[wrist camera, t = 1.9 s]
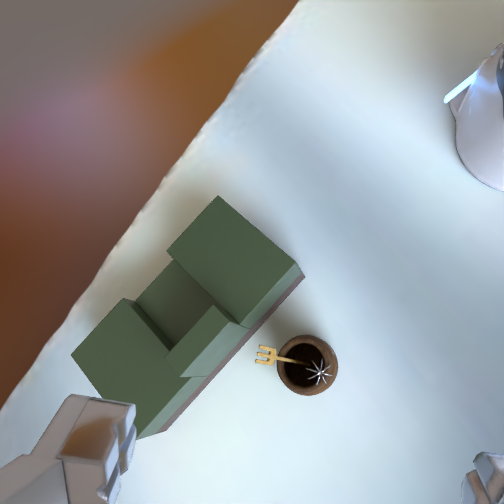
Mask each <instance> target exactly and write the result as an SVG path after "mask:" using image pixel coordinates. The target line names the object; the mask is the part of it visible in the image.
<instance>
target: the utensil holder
mask: <svg viewBox="0 0 504 504" xmlns="http://www.w3.org/2000/svg"><path fill="white" fill-rule="evenodd" d="M259 348H260V349H264V350H268V351H269V354H265V353H261V352H258V353H257V356H262V357H267V361H264V360H258V359H256V360H255V363H259V364H265V365H271V366H272V365H273V363H274V362H275V360H277V371H278V374H279V377H280V379H281V380H282V382H283V383H284V384H285V385H286V386H287V387H288V388H289V389H290V390H291V391H293V392H295V393H297V394H300V395H305V396H311V395H316V394H319V393H321V392H323V391H325V390H326V389H328V388H329V387H330V386H331V385H332V383H333V382H334V380H335V378H336V375H337V371H338V362H337V358H336V355H335V353H334V351H333V349H332V348H331V347H330V346H329V345H328V344H327V343H326V342H325V341H323V340H322V339H320V338H318V337H315V336H311V335H301V336H297V337H294V338H292V339H291V340H289V341H288V342H287V343H286V344H285V345H284V346H283V347H282V348H281V350H280V352H279V354H278V356H277V355H276V349H275V348H271V347H267V346H263V345H259Z"/></svg>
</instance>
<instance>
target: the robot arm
mask: <svg viewBox="0 0 504 504" xmlns="http://www.w3.org/2000/svg"><path fill="white" fill-rule="evenodd" d="M448 101H449V104H450V108H451V111H452V113H453V115H454V117H455V119H456V146H457V150H458V153H459V156H460V158H461V160H462V162H463V163H464V165H465V166H466V168H467V169H468V170H469V171H470V172H471V173H472V174H473V175H474V176H475V177H476V178H477V179H479V180H480V181H482V182H483V183H485V184H486V185H488V186H490V187H492V188H494V189H497V190H499V191H502V192H504V44H503V43H501V44H499V45H498V46H497V47H496V48H495V49H494V51H493V52H492V56H491V57H490V58H485V59H484V60H483V61H482V63H481V64H480V66H479V68H478V70H477V71H476V72H475V73H473V74H472V75H471V76H470V77H468V78H467V79H466V80H465V81H463V82H462V83H461V84H460V85H459V86H457V87H456V88H455V89H454V90H452V91H451V92H450V93H449V94H447V95H446V96H445V99H444V102H445V103H447V102H448ZM135 416H136V408H135V404H132V403H126V402H120V401H114V400H108V399H102V398H96V397H89V396H83V395H76V394H71V395H70V396H68V397H67V398H66V399H65V400H64V402H63V403H62V405H61V407H60V408H59V410H58V411H57V413H56V414H55V416H54V417H53V419H52V421H51V422H50V424H49V425H48V427H47V428H46V430H45V432H44V433H43V435H42V436H41V438H40V439H39V441H38V442H37V444H36V446H35V447H34V449H33V450H32V452H31V453H30V455H25V454H22V455H21V456H19V457H18V458H16V459H15V460H13V461H12V462H10V463H8V464H7V465H5V466H4V467H2V468H1V469H0V504H115V502H116V499H117V496H118V494H119V491H120V476H121V475H122V474H123V473H124V472H126V471H127V470H128V467H129V464H130V462H131V459H132V455H133V451H134V447H135V442H136V427H135V426H134V425H133V421H134V418H135ZM473 463H474V465H475V467H476V469H474V470H473V471H471V472H469V473H467V474H466V475H465V477H464V479H463V482H462V485H461V498H462V503H463V504H504V454H497V453H489V452H481V453H479V454H477V455H476V457H475V459H474V461H473Z"/></svg>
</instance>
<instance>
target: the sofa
mask: <svg viewBox="0 0 504 504" xmlns="http://www.w3.org/2000/svg"><path fill="white" fill-rule="evenodd" d="M167 252H168V253H169V254H170V255H171V256H172V257H173V258H174V260H173V261H172V262H171V263H170V264H169V265H168V266H167V267H166V268H165V269H164V270H163V271H162V273H161V274H160V275H159V276H158V277H157V278H156V279H155V280H154V281H153V282H152V283H151V284H150V286H149V287H148V288H147V289H146V290H145V291H144V292H143V293H142V294H141V295H140V296H139V297H138V299H137V300H136V301H132V300H128V299H125V298H123V299H122V300H121V301H120V302H119V303H118V304H117V305H116V306H115V307H114V308H113V309H112V310H111V312H110V313H109V314H108V315H107V316H106V317H105V318H104V319H103V320H102V321H101V322H100V323H99V325H98V326H97V327H96V328H95V329H94V330H93V331H92V332H91V333H90V334H89V335H88V336H87V338H86V339H85V340H84V341H83V342H82V343H81V344H80V345H79V346H78V347H77V348H76V349H75V351H74V352H73V353H72V354H71V356H72V357H73V359H74V360H75V362H76V363H77V364H78V366H79V367H80V368H81V370H82V371H83V372H84V374H85V375H86V376H87V378H88V379H89V381H90V382H91V383H92V385H93V386H94V387H95V389H96V390H97V391H98V393H99V394H100V395H101V397H102V398H103V399H108V400H114V401H120V402H126V403H132V404H135V408H136V416H135V418H134V421H133V425H134V426H135V427H136V440H138V439H141V438H144V437H147V436H151V435H154V434H157V433H160V432H164V431H166V430H167V429H168V428H169V427H170V426H171V425H172V423H173V422H174V421H175V420H176V419H177V418H178V417H179V416H180V415H181V414H182V412H183V411H184V410H185V409H186V408H187V407H188V406H189V405H190V404H191V402H192V401H193V400H194V399H195V398H196V397H197V396H198V395H199V394H200V393H201V391H202V390H203V389H204V388H205V387H206V386H207V385H208V384H209V383H210V381H211V380H212V379H213V378H214V377H215V376H216V375H217V374H218V373H219V372H220V370H221V369H222V368H223V367H224V366H225V365H226V364H227V363H228V362H229V361H230V359H231V358H232V357H233V356H234V355H235V354H236V353H237V352H238V351H239V349H240V348H241V347H242V346H243V345H244V344H245V343H246V342H247V341H248V340H249V338H250V337H251V336H252V335H253V334H254V333H255V332H256V331H257V330H258V328H259V327H260V326H261V325H262V324H263V323H264V322H265V321H266V320H267V319H268V317H269V316H270V315H271V314H272V313H273V312H274V311H275V310H276V309H277V307H278V306H279V305H280V304H281V303H282V302H283V301H284V300H285V299H286V298H287V296H288V295H289V294H290V293H291V292H292V291H293V290H294V289H295V288H296V287H297V285H298V284H299V283H300V282H301V281H302V280H303V279H304V278H305V276H304V274H303V273H302V271H301V269H300V268H299V266H298V264H297V263H296V262H295V261H294V260H293V259H292V258H291V257H290V256H288V255H287V254H286V253H285V252H284V251H283V250H281V249H280V248H279V247H278V246H277V245H276V244H274V243H273V242H272V241H271V240H270V239H269V238H267V237H266V236H265V235H264V234H263V233H261V232H260V231H259V230H258V229H257V228H256V227H254V226H253V225H252V224H251V223H250V222H249V221H247V220H246V219H245V218H244V217H243V216H242V215H240V214H239V213H238V212H237V211H236V210H235V209H233V208H232V207H231V206H230V205H229V204H228V203H226V202H225V201H224V200H223V199H222V198H220V197H219V196H217V197H216V198H215V199H214V200H213V201H212V202H211V203H210V204H209V205H208V206H207V207H206V209H205V210H204V211H203V212H202V213H201V214H200V215H199V216H198V217H197V218H196V219H195V220H194V222H193V223H192V224H191V225H190V226H189V227H188V228H187V229H186V230H185V231H184V232H183V233H182V235H181V236H180V237H179V238H178V239H177V240H176V241H175V242H174V243H173V244H172V245H171V246H170V248H169V249H168V250H167Z"/></svg>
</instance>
